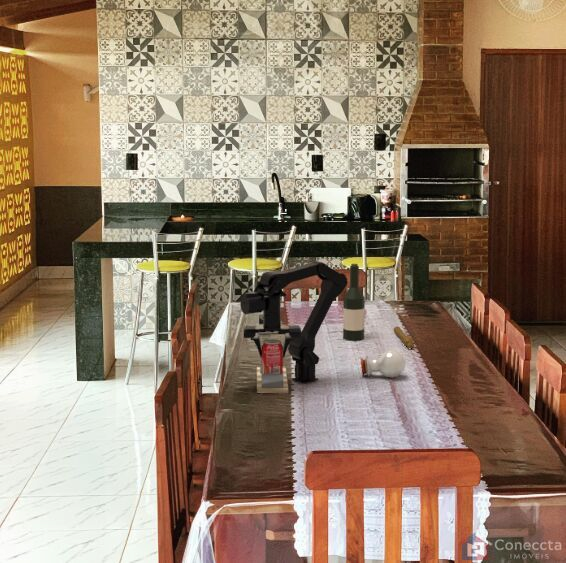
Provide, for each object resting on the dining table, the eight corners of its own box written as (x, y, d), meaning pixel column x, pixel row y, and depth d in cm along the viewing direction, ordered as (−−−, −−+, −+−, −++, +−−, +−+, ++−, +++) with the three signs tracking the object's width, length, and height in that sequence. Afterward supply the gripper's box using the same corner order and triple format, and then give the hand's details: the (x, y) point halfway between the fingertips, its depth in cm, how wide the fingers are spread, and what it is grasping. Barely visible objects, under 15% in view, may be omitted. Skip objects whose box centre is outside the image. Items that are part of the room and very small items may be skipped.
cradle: (288, 393, 318) (288, 376, 317) (257, 393, 318) (256, 377, 317) (285, 370, 346) (285, 355, 345) (256, 370, 346) (256, 355, 345)
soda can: (270, 372, 332) (270, 337, 329) (287, 376, 327) (287, 341, 325) (256, 377, 326) (257, 341, 324) (273, 380, 322) (273, 344, 320)
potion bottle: (407, 382, 336) (363, 386, 338) (405, 360, 343) (362, 364, 345) (406, 364, 330) (361, 369, 332) (403, 342, 337) (359, 346, 338)
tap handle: (400, 325, 405) (415, 342, 375) (400, 333, 405) (414, 350, 376) (393, 326, 405) (407, 342, 375) (393, 333, 405) (406, 350, 376)
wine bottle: (364, 341, 390) (365, 265, 385) (343, 341, 390) (344, 265, 385) (363, 336, 398) (364, 262, 393) (342, 336, 398) (343, 262, 393)
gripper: (299, 305, 331) (299, 350, 334) (243, 306, 330) (244, 351, 333) (301, 312, 320) (301, 359, 323) (243, 313, 319) (243, 360, 322)
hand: (272, 357), depth 326 cm, fingers closed on soda can, 7 cm apart
